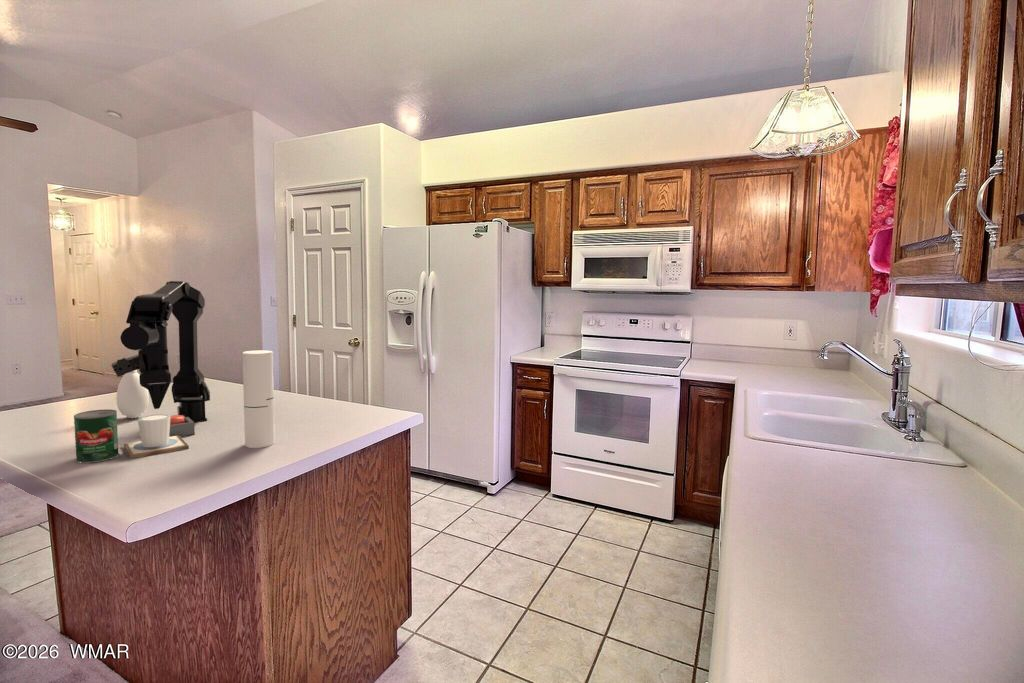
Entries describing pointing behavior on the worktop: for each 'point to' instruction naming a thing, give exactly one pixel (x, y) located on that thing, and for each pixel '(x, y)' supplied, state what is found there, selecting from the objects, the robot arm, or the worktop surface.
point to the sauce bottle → (132, 396)
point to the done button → (177, 419)
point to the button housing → (182, 428)
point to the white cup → (154, 430)
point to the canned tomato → (96, 435)
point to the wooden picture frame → (138, 450)
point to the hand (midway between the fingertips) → (156, 404)
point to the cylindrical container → (258, 398)
